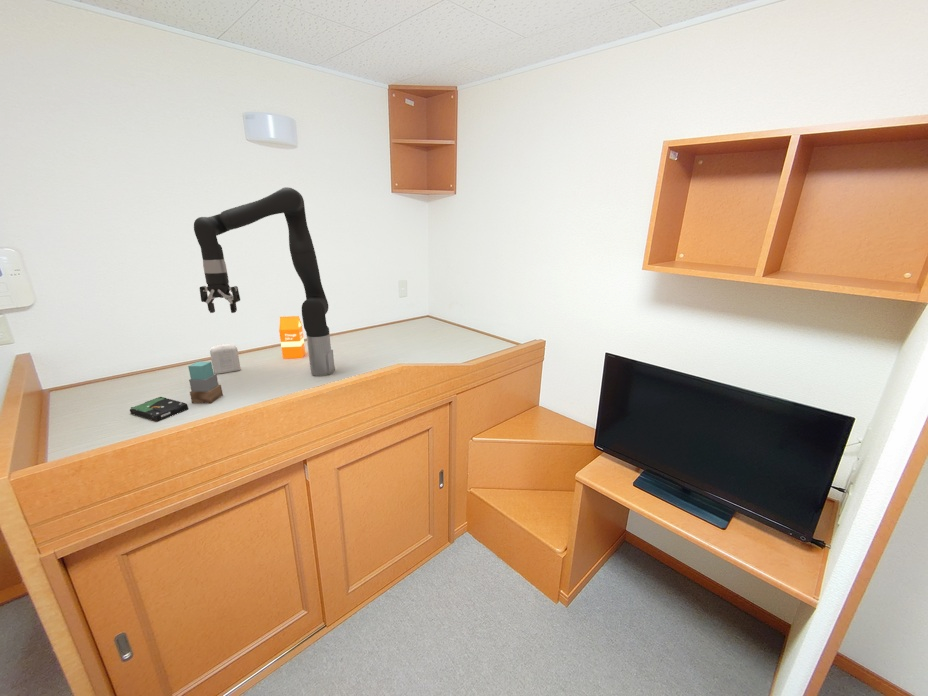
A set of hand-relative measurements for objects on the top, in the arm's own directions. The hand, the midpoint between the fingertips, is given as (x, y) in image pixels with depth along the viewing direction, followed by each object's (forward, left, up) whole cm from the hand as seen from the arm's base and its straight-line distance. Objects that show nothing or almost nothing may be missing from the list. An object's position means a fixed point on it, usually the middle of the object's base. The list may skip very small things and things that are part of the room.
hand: (223, 312), depth 156 cm
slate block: (-2, +21, -24) cm, 32 cm away
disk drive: (+8, +31, -29) cm, 43 cm away
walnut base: (-2, +21, -28) cm, 35 cm away
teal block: (-2, +21, -19) cm, 28 cm away
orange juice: (-12, -30, -28) cm, 43 cm away
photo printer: (+8, -8, -28) cm, 30 cm away
